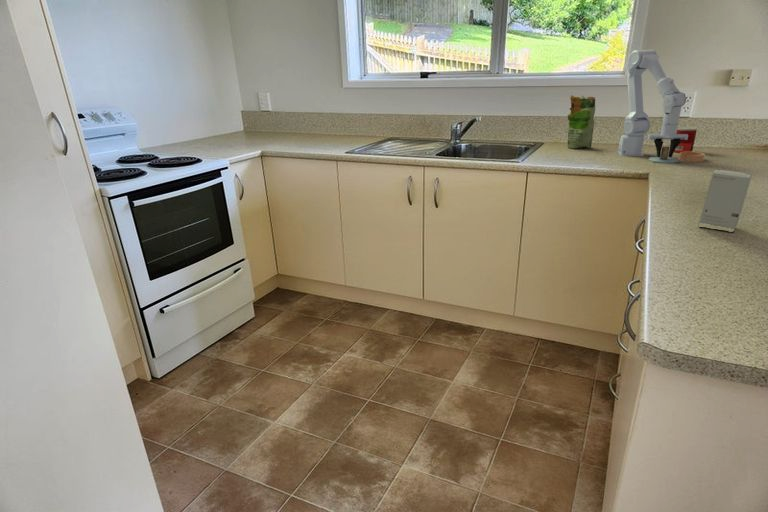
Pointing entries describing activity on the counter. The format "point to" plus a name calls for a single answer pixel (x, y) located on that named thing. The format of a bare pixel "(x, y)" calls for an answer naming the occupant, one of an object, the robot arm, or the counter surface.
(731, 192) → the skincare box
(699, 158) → the bowl
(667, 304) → the counter surface
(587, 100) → the pouch
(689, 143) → the canned food
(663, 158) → the lid
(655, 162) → the mat
